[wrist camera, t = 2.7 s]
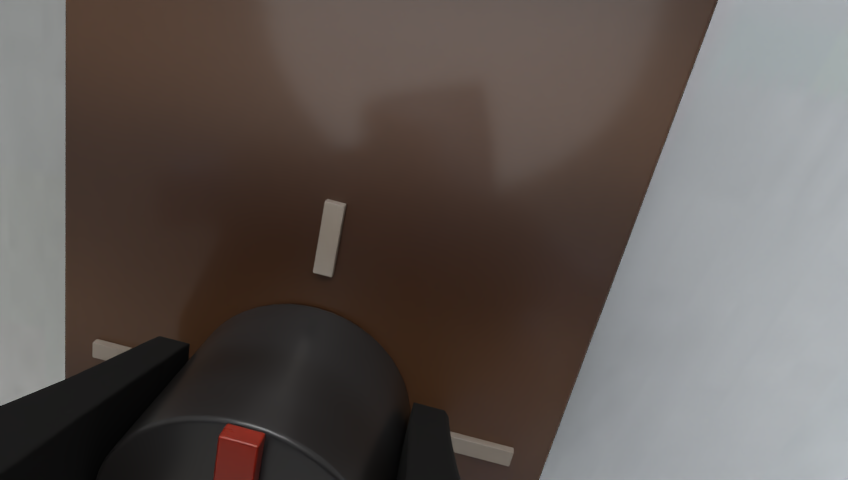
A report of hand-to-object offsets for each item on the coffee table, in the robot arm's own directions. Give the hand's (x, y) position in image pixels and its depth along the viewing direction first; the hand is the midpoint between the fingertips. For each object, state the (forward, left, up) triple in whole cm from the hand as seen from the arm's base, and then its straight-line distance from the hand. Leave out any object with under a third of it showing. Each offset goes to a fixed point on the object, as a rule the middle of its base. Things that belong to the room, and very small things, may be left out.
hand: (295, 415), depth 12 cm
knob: (0, 0, 0) cm, 0 cm away
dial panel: (+4, 0, -3) cm, 5 cm away
